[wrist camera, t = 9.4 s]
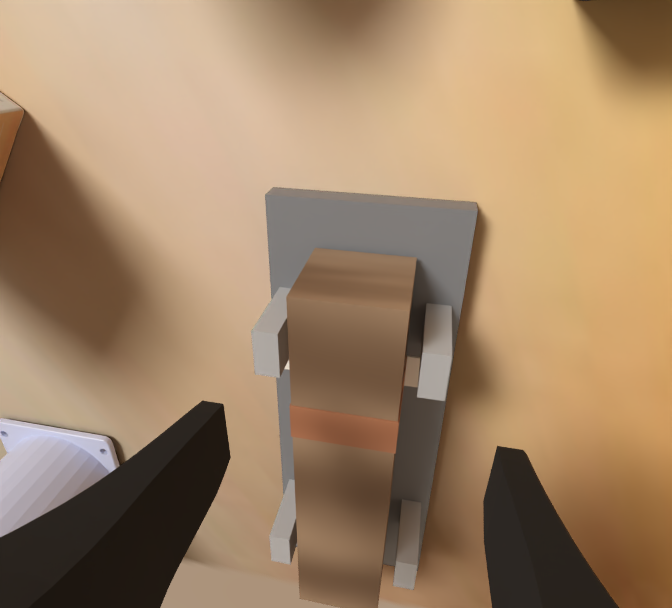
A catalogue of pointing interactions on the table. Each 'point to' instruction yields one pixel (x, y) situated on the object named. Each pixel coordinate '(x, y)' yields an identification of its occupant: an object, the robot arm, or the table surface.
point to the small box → (8, 128)
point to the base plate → (422, 348)
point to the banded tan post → (346, 416)
